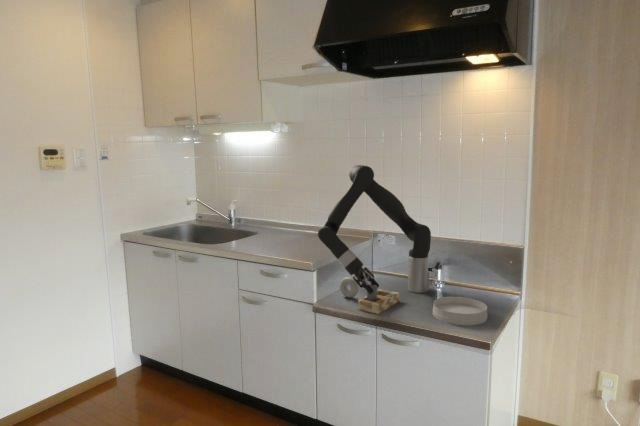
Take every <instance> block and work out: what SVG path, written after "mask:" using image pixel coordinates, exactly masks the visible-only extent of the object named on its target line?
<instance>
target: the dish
mask: <svg viewBox="0 0 640 426" xmlns="http://www.w3.org/2000/svg"><path fill="white" fill-rule="evenodd" d="M432 315H434V316H433V318H435V317H436V318H435V319H437V320H438V319H439V320H438V321H441V322H443V321H444V322H443V323H446V322H447V324H450V323H451V325H458V326H476V325H481V324H484V323H486V322H487V320H488V305H486V303H484V302H482V301H481V300H477V299H474V298H470V297H465V296H442V297H439V298H436V299H435V300H434V301H433V307H432Z"/></svg>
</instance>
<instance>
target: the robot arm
mask: <svg viewBox="0 0 640 426" xmlns="http://www.w3.org/2000/svg"><path fill="white" fill-rule="evenodd" d="M348 176H349V179H350V181H351V182H352V184H351V186H350V187H349V189H348V190H347V191H346V193H345V194H343V196H342V197H341V198H340V199H339V200H337V202H336V203H335V205H334V207H333V208H332V210H331V211H330V213H329V215H328V217H327V221H325V224H324V225H323V226H322V227H320V228H319V229H318V232H317V237H318V238H319V239H318V240H320V241H321V242H322V243H323V244H324V245H325V247H326V248H327V249H329V250H330V252H331V253H332V255H333V256H334V257H335V258H336V259H337V260H338V262H339V263H340V265H341V266H342V267H343V268H344V269H345V270H346V272H347V273H348V274H349V275H350V276H352V278H353V279H354V280H355V281H356V283H357V284H358V287H359V288H360V289H362V288H363V289H365V291H366V292H367V291H368V293H369V294H371V293H373V292H374V290H373V289H372V288H371V287H370V286H369V283H370V284H374V285H377V289H378V288H379V287H380V284H379V283H378V282H377V281H376V279H375V275H374V274H373V273H372V272H371V271H370V269H369V268H367V267H366V266H365V267H364V268H363V266H364V263H363V262H362V261H361V260H360V258H359V257H358V256H357V255H356V253H354V252H353V251H352V250H351V249H350V248H349V247H348V246H347V244H346V243H344V241H342V240H341V238H339V236H338V235H337V234H338V232H339V229H340V227H341V225H342V224H343V223H344V221H345V220H346V218H347V216H348V214H349V212H350V211H351V210H352V209H353V207H354V205H355V203H356V202H357V201H358V200H359V198H360V197H361V196H362V194H363V193H365V194H366V195H367V196H368V197H369V199H371V200H372V202H373V203H375V205H376V207H377V208H378V209H380V210H381V211H382V212H383V213H384V215H385V216H387V217H388V218H389V219H390V220H391V221H392V222H393V223H395V225H397V227H399V229H400V230H401V231H402V232H403V233H404V235H405V236H406V237H407V238H408V239H409V240H410V241H411V242H413V246H412V248H411V249H409V250H408V276H407V277H408V278H407V280H408V281H407V290H408V291H409V292H411V293H415V294H422V293H426V292H428V291H430V271H428V268H429V264H428V263H429V253H430V250H431V239H432V232H431V229H430V228H429V227H428V225H425V224H422V223H419V222H417V221H415V220H414V219H413V218H412V217H411V216H410V215H409V214H408V213H407V211H406V207H405V206H404V205H403V203H402V201H401V200H399V198H397V196H396V195H395V194H393V193H392V192H391V191H390V190H388V189H387V188H385V187H383V186H382V185H380V184H379V183H378V182H377V181H376V180H375V179H374V177H375V172H374V170H373V168H372V167H370V166H368V165H362V164H358V165H355V166H354V165H353V166H352V167H351V168H350V170H349V175H348ZM367 281H368V282H367Z"/></svg>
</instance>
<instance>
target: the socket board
mask: <svg viewBox="0 0 640 426" xmlns="http://www.w3.org/2000/svg"><path fill="white" fill-rule="evenodd" d="M398 302H400V292H396V291H391V290H385V289H381V288H380V289H377V301H376V302H373V301H368V300H367V295H365V296H364V297H362V298H360V299H358V300H357V310H359V311H363V312H369V313H373V314H377V315H379V314H381V313H382V312H384V311H385V310H387V309H389V308H390V307H392V306H394V305H395V304H397V303H398Z"/></svg>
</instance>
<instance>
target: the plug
mask: <svg viewBox="0 0 640 426" xmlns="http://www.w3.org/2000/svg"><path fill="white" fill-rule="evenodd" d="M368 285H369V286H370V287H371V288H372V289H373V290H374V292H373V293H371V294H369V293H368V291H367V290H366V296H367V300H368V301H373V302H376V301H377V290H378V288H377V285H374V284H371V283H370V284H369V283H368Z"/></svg>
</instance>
